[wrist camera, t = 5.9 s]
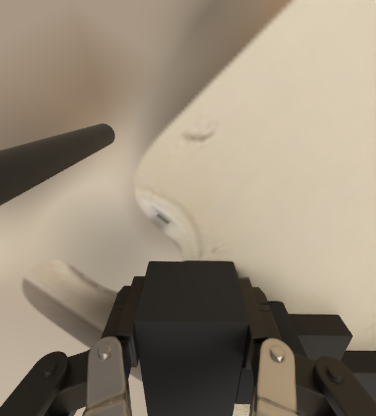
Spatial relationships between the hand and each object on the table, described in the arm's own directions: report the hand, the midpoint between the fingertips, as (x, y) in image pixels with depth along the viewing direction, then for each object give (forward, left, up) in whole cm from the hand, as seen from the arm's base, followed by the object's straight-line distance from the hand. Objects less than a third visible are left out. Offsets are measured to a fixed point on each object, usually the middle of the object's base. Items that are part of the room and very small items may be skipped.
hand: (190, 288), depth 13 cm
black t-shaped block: (+2, -4, -1) cm, 4 cm away
